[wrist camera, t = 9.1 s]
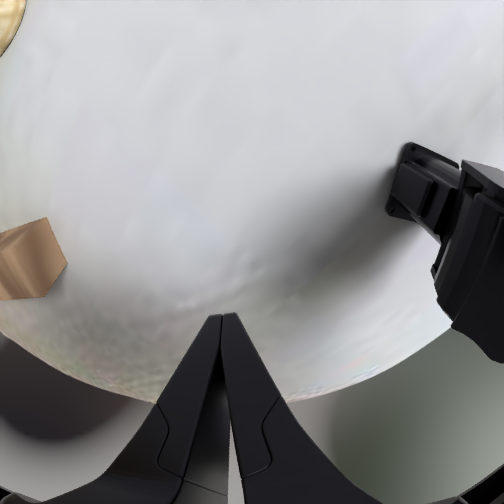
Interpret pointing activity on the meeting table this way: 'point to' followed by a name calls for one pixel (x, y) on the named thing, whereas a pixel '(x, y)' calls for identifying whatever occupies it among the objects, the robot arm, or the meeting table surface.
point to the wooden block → (29, 260)
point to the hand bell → (9, 20)
